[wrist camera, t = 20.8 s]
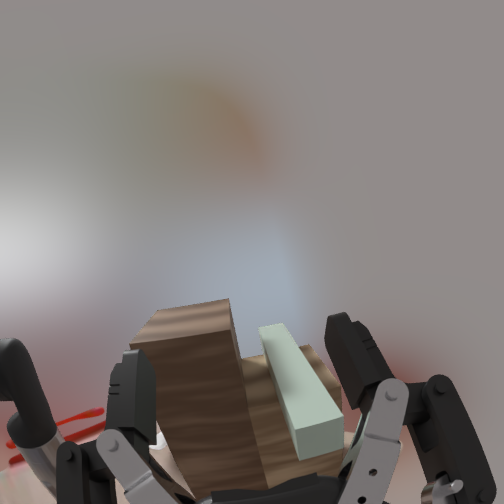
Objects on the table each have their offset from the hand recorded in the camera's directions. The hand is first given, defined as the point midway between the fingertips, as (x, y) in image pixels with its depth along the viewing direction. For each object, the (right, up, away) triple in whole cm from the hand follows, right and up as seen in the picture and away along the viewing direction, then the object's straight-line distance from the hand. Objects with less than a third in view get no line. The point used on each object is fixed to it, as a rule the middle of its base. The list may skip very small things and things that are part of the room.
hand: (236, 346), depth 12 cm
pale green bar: (+5, -12, +21) cm, 25 cm away
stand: (+3, -35, +26) cm, 44 cm away
